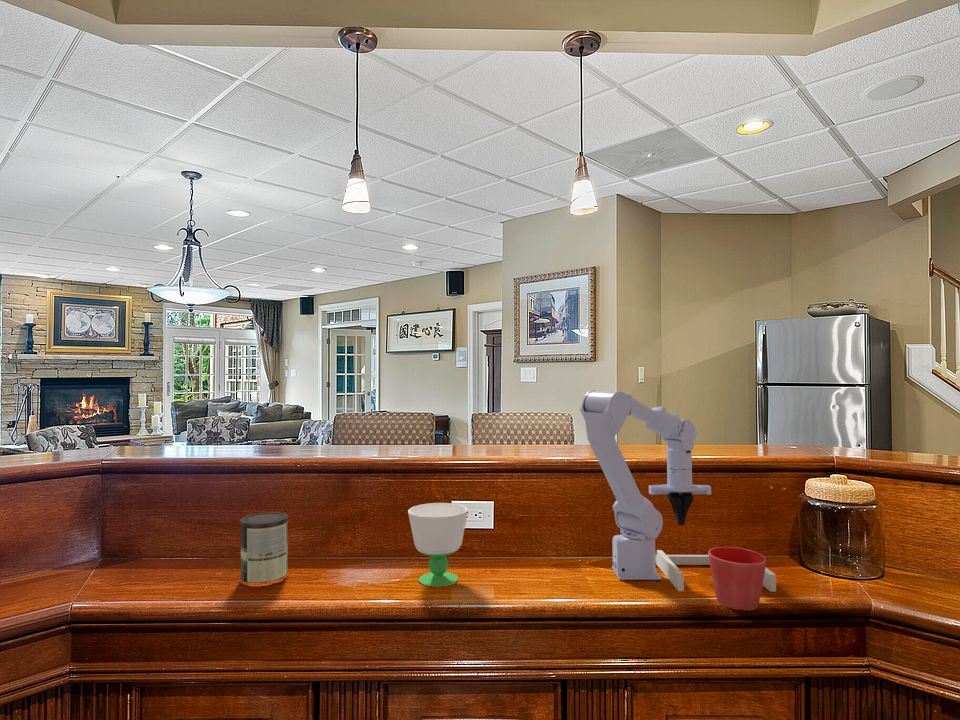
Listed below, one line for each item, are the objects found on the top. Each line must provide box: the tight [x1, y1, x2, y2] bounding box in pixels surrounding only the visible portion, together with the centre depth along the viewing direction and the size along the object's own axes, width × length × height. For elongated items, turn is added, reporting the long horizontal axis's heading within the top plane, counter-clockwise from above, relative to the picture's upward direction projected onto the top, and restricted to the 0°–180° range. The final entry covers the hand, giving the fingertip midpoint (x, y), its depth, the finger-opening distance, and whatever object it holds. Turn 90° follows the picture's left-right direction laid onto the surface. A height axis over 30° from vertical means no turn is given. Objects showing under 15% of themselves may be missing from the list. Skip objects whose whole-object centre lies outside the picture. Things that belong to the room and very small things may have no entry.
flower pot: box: [707, 546, 767, 611], centre depth 114 cm, size 11×11×10 cm
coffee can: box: [239, 511, 289, 583], centre depth 130 cm, size 10×10×14 cm
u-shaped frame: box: [655, 549, 777, 593], centre depth 129 cm, size 20×18×4 cm
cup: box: [407, 502, 469, 587], centre depth 128 cm, size 14×14×16 cm
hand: (680, 523), depth 138 cm, fingers closed
